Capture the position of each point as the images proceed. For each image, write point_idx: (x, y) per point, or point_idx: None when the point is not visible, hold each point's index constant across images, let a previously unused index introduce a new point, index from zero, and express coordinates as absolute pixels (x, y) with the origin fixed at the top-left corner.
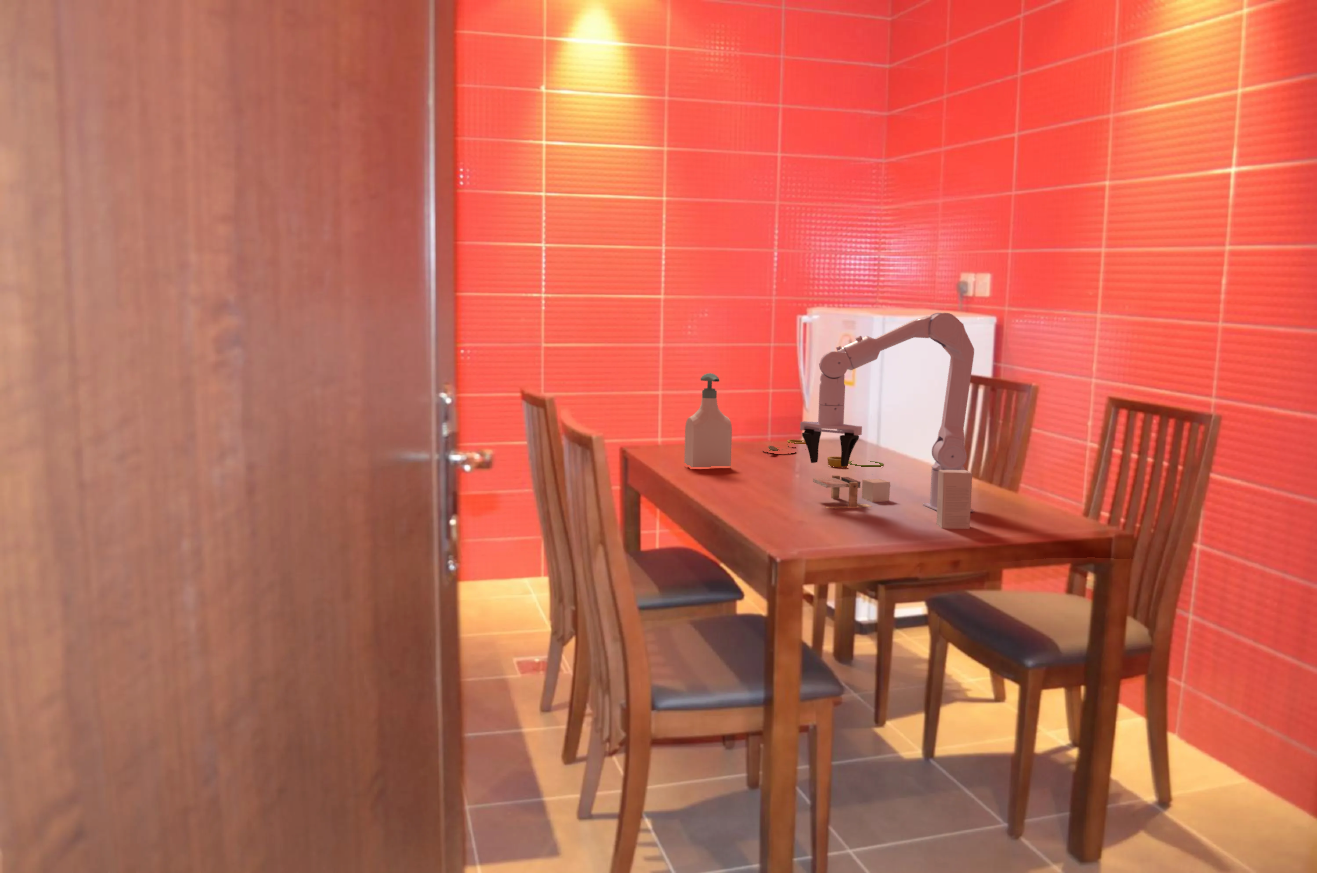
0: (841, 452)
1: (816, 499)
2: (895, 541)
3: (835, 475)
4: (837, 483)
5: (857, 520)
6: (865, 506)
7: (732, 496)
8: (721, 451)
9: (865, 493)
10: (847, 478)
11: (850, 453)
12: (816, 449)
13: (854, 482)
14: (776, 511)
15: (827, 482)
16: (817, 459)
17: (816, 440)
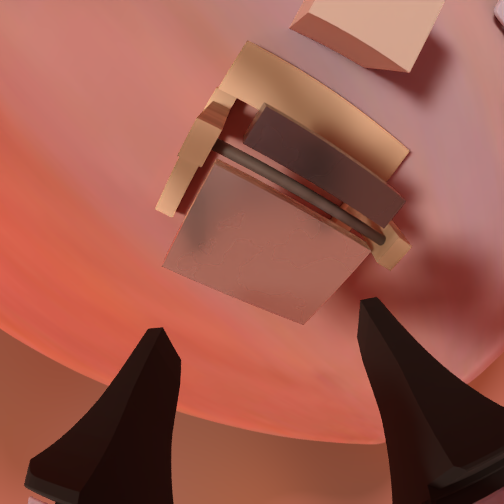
0: (381, 413)
1: (127, 127)
2: (487, 351)
3: (189, 137)
4: (327, 285)
5: (417, 296)
6: (391, 165)
7: (19, 292)
8: None
9: (327, 38)
10: (302, 159)
11: (420, 352)
12: (147, 403)
13: (396, 250)
14: (215, 352)
15: (280, 297)
16: (159, 339)
17: (136, 463)
